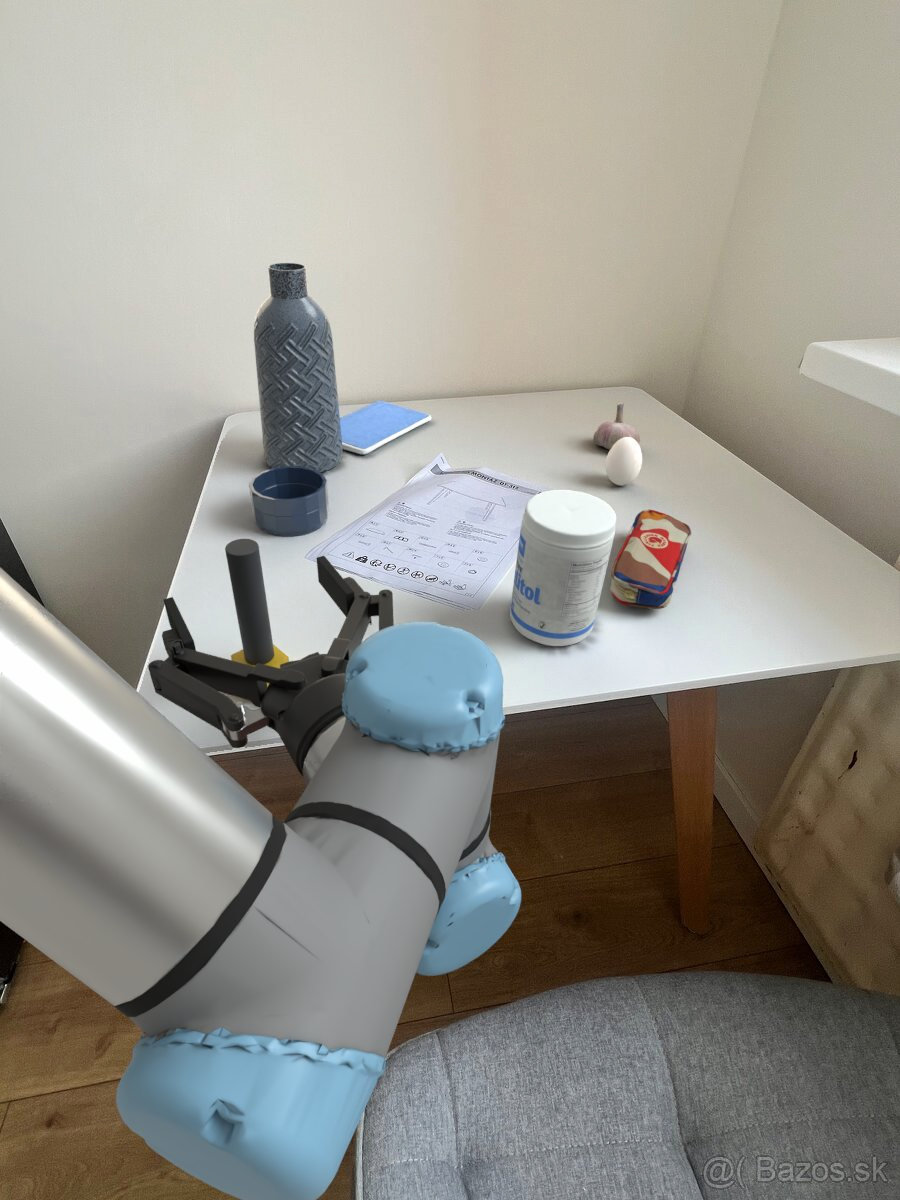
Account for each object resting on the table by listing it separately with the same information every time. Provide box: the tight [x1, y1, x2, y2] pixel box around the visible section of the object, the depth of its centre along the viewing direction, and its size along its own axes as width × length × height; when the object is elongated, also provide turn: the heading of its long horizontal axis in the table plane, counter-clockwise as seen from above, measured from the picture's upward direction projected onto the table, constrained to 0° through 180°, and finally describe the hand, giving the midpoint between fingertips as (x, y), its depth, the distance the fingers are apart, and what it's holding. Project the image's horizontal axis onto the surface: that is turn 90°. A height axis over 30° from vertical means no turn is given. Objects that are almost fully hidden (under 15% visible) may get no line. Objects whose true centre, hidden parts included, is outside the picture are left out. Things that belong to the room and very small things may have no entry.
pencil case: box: [609, 509, 692, 610], centre depth 87 cm, size 11×20×5 cm, turn 142°
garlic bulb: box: [592, 401, 641, 451], centre depth 117 cm, size 8×7×8 cm
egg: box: [605, 437, 643, 486], centre depth 106 cm, size 5×5×8 cm
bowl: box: [248, 466, 330, 537], centre depth 94 cm, size 10×10×6 cm
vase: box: [253, 262, 344, 473], centre depth 103 cm, size 12×12×28 cm
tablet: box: [340, 400, 433, 456], centre depth 121 cm, size 19×13×1 cm, turn 146°
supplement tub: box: [509, 489, 617, 647], centre depth 75 cm, size 10×10×15 cm
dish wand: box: [224, 538, 290, 686], centre depth 65 cm, size 4×4×16 cm
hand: (249, 588), depth 62 cm, fingers open, 13 cm apart
